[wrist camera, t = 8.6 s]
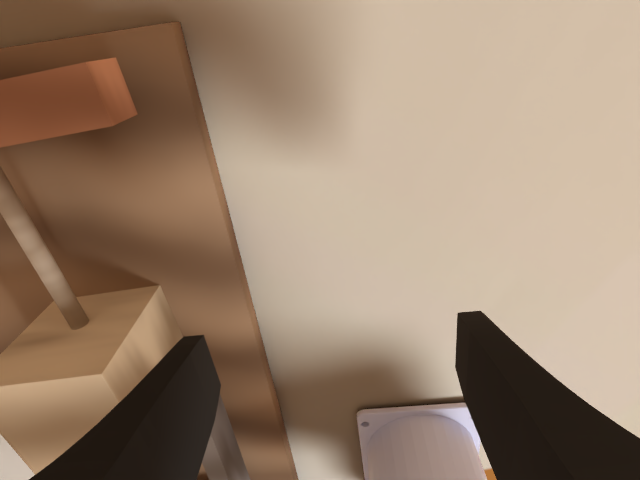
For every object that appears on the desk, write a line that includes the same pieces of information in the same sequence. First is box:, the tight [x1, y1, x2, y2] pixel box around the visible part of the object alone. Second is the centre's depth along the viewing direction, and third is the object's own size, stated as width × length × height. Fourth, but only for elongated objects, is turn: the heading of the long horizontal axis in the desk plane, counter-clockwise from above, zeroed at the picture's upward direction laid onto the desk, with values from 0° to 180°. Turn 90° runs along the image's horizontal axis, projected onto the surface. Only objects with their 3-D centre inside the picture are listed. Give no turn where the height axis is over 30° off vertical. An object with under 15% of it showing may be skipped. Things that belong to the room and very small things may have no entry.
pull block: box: [0, 57, 183, 475], centre depth 17 cm, size 16×12×6 cm
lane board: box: [0, 22, 298, 480], centre depth 23 cm, size 32×16×4 cm, turn 7°
